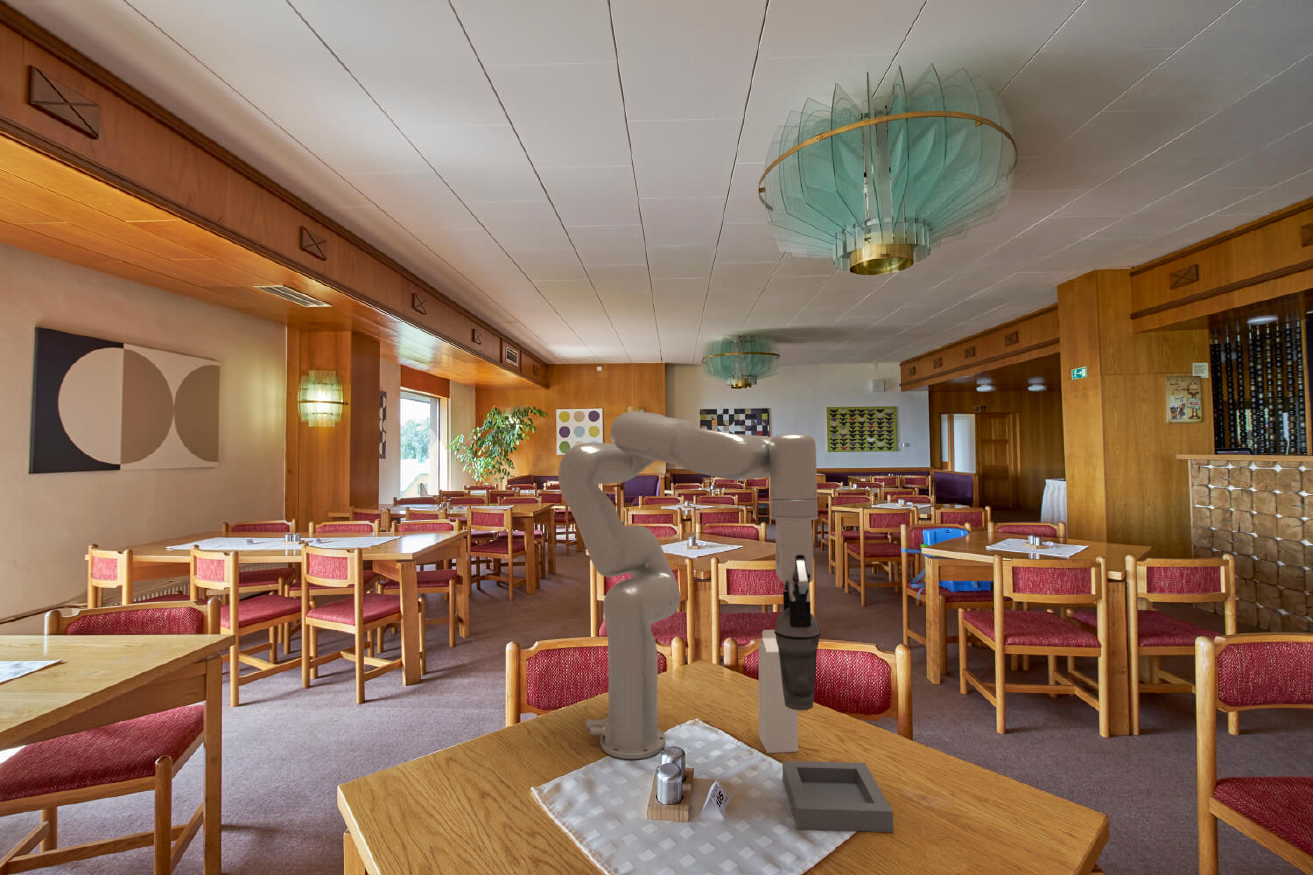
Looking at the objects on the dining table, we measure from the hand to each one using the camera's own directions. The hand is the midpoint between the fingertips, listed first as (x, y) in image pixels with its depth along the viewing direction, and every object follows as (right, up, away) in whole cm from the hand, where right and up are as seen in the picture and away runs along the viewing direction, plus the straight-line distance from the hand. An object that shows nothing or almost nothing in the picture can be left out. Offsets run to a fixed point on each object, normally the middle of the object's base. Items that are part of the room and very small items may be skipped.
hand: (796, 619), depth 97 cm
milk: (+1, -30, +18) cm, 35 cm away
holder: (+6, -29, -1) cm, 30 cm away
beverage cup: (0, -14, -1) cm, 14 cm away
